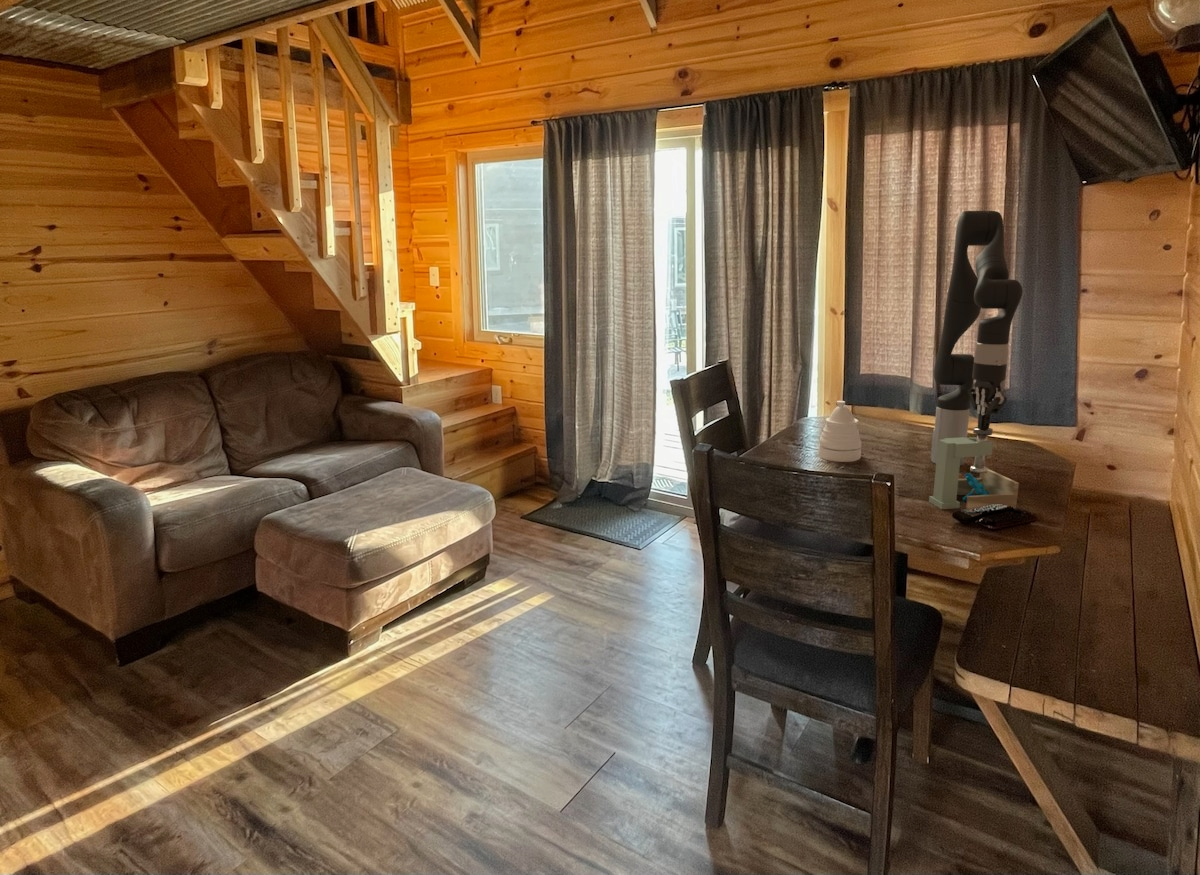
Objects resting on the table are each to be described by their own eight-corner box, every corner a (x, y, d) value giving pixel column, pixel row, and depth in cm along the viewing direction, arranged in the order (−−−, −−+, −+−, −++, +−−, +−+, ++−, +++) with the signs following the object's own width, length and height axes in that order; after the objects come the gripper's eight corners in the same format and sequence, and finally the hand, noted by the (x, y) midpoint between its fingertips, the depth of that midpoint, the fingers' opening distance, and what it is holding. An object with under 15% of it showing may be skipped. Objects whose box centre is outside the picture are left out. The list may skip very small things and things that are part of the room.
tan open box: (936, 494, 214) (938, 469, 213) (981, 491, 216) (984, 467, 214) (968, 512, 201) (970, 485, 199) (1015, 509, 202) (1018, 482, 201)
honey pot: (853, 464, 245) (857, 406, 240) (812, 458, 252) (815, 401, 247) (865, 454, 255) (869, 398, 251) (825, 449, 262) (828, 394, 258)
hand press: (928, 501, 210) (934, 438, 206) (973, 498, 212) (980, 436, 207) (941, 509, 204) (947, 444, 200) (987, 506, 206) (994, 442, 202)
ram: (965, 469, 208) (970, 427, 205) (981, 468, 209) (985, 426, 206) (975, 474, 204) (980, 431, 201) (991, 473, 205) (996, 430, 202)
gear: (993, 504, 202) (966, 473, 205) (973, 518, 205) (947, 486, 207) (998, 498, 211) (972, 468, 214) (979, 511, 214) (954, 481, 217)
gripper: (961, 357, 205) (954, 423, 209) (992, 365, 193) (985, 435, 197) (988, 356, 206) (981, 422, 211) (1021, 364, 194) (1013, 434, 198)
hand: (983, 428), depth 204 cm, fingers closed
